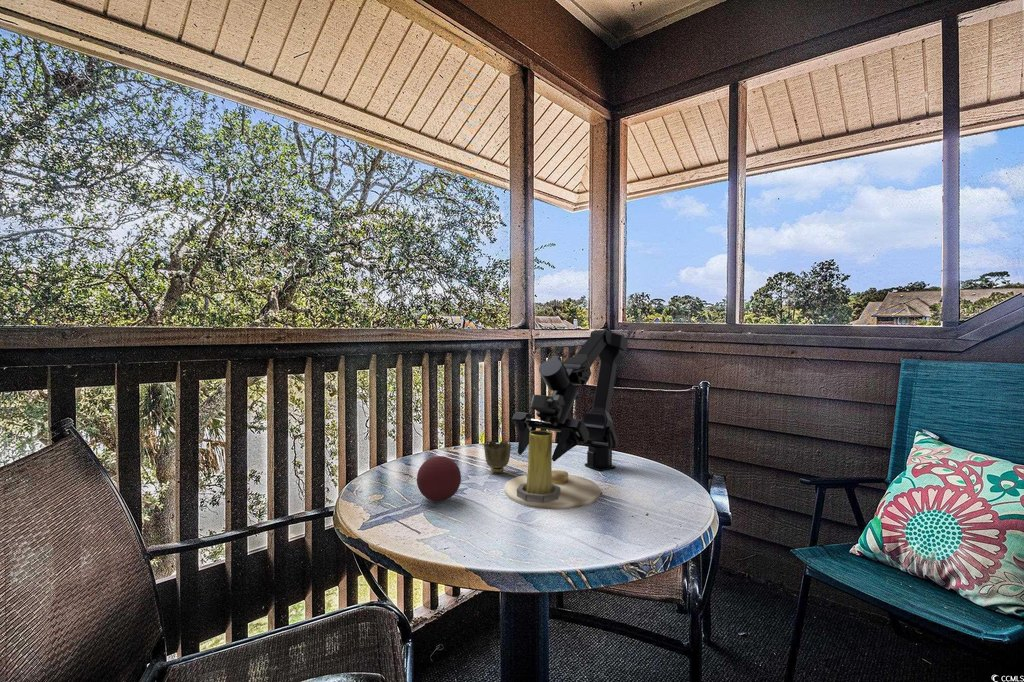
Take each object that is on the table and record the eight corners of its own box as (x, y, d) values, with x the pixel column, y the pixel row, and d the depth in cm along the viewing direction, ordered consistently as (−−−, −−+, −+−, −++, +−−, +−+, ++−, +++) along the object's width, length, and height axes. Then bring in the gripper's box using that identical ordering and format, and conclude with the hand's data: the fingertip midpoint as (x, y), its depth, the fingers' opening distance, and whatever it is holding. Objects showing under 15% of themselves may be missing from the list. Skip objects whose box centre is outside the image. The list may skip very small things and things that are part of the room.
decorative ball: (449, 510, 102) (449, 464, 102) (408, 504, 105) (408, 460, 105) (467, 495, 112) (468, 453, 111) (429, 490, 115) (430, 449, 115)
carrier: (561, 472, 131) (561, 461, 131) (621, 497, 111) (621, 484, 111) (487, 485, 119) (487, 473, 119) (539, 516, 99) (539, 501, 99)
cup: (512, 469, 133) (512, 440, 133) (509, 477, 126) (509, 447, 126) (486, 468, 134) (486, 440, 134) (481, 476, 127) (481, 446, 127)
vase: (520, 493, 110) (522, 431, 110) (539, 487, 114) (541, 428, 113) (537, 501, 105) (539, 437, 105) (557, 495, 109) (559, 433, 109)
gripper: (516, 379, 118) (487, 431, 109) (583, 384, 107) (558, 442, 98) (533, 407, 124) (508, 458, 115) (599, 414, 113) (576, 471, 104)
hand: (535, 457), depth 108 cm, fingers open, 9 cm apart
